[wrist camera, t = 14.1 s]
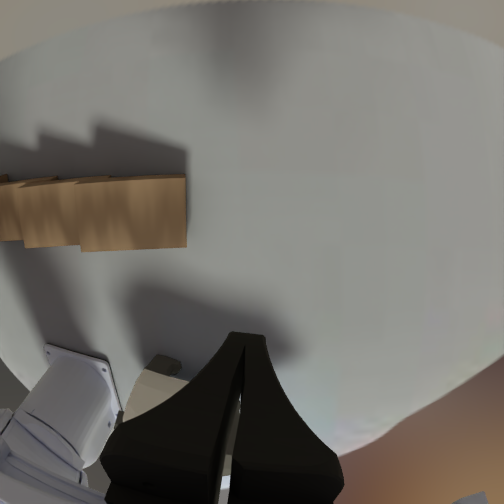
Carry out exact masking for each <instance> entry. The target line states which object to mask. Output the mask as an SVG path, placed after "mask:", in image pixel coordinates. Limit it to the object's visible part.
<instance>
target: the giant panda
mask: <svg viewBox="0 0 504 504" xmlns="http://www.w3.org/2000/svg"><path fill="white" fill-rule="evenodd" d="M181 368H182V367H181V363H180V362H179V361H177V360H175V359H172V358H169V357H166V356H161V355H156V356H155V357H154V359H153V360H152V361H151V362H150V364H149V365H148V366H147V367H146V368H145V369H144V370H143V371H142V373H141V374H140V376H139V377H138V379H137V381H136V382H135V385H134V387H133V390H132V392H131V395H130V397H129V399H128V402H127V405H126V408H125V412H124V411H120V410H119V411H118V414H117V418H116V422H115V426H114V429H115V428H116V427H117V425H118V424H120V423H122V422H125V421H127V420H130V419H132V418H134V417H137V416H139V415H141V414H143V413H145V412H147V411H148V410H150V409H152V408H154V407H155V406H157V405H159V404H161V403H162V402H164V401H165V400H167V399H168V398H170V397H171V396H172V395H174V394H175V393H176V392H178V391H179V390H180V389H182V388H183V387H184V386H185V385H186V384H188V383H189V382H188V381H184V380H180V379H177V378H173V377H169V376H170V375H171V374H177V373H178V372H179V371H180V369H181ZM239 409H240V402H238V405H237V409H236V413H235V416H234V420H233V424H232V427H231V431H230V435H229V439H228V444H227V450H226V456H225V462H224V468H223V475H222V476H228V475H231V462H232V454H233V449H234V444H235V439H236V433H237V428H238V422H239V416H240V413H239Z"/></svg>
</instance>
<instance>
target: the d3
mask: <svg viewBox="0 0 504 504" xmlns="http://www.w3.org/2000/svg"><path fill="white" fill-rule="evenodd" d="M54 180H58V176H51V177H43V178H35V179H27V180H20V181H13V182H7V183H0V241H12V240H23V234H22V229H21V222H20V216H19V209H18V201H17V193H16V188H18V187H20V186H22V185H24V184H30V183H38V182H46V181H54Z"/></svg>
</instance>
